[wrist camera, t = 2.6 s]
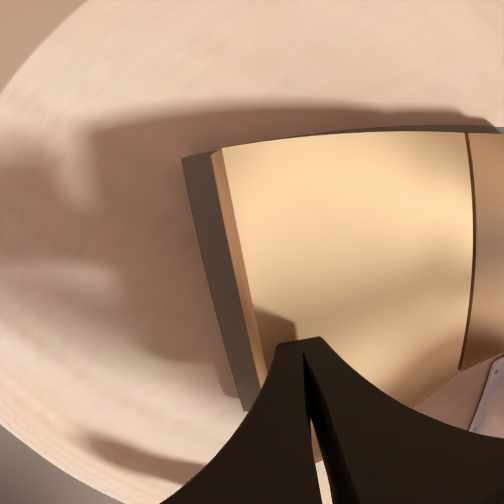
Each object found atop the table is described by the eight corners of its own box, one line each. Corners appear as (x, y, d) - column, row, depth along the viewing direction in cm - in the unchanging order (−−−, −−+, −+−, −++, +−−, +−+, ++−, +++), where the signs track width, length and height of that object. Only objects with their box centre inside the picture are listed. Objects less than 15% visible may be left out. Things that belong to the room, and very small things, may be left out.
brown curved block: (497, 337, 15) (509, 348, 13) (449, 358, 15) (460, 371, 13) (504, 135, 11) (521, 135, 10) (451, 135, 12) (468, 133, 10)
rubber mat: (493, 335, 16) (500, 341, 15) (244, 400, 17) (243, 411, 16) (497, 128, 12) (508, 127, 11) (186, 159, 13) (181, 158, 12)
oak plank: (439, 363, 15) (456, 373, 13) (276, 453, 12) (289, 474, 10) (440, 135, 12) (464, 133, 10) (210, 155, 9) (221, 148, 7)
